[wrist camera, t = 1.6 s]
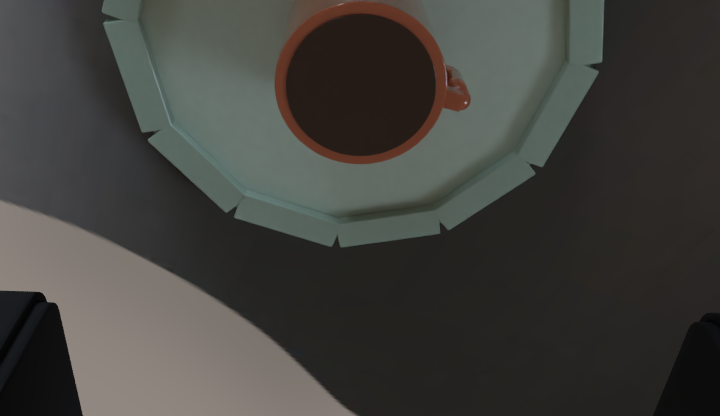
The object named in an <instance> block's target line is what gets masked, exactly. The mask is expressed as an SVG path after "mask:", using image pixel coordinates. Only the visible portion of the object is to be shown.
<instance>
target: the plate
mask: <svg viewBox="0 0 720 416" xmlns="http://www.w3.org/2000/svg"><path fill="white" fill-rule="evenodd" d="M294 1H295V0H104V2H103V8H102V13H104V14H107V15H110V16H112V18H109V19H106V20H105V22H104V23H103V26H104V28H105V31H106V34H107V37H108V40H109V42H110V45H111V48H112V51H113V54H114V56H115V59H116V62H117V65H118V68H119V70H120V73H121V76H122V79H123V81H124V84H125V87H126V90H127V93H128V95H129V98H130V101H131V104H132V107H133V109H134V112H135V115H136V118H137V121H138V123H139V126H140V129H141V132H142V133H144V132H151V131H153V133H152V134H151V135H150V137H149V138H148V142H149V143H150V144H151V145H152V146H154V147H155V148H156V149H157V150H158V151H159V152H160V153H161V154H162V155H163V156H164V157H166V158H167V159H168V160H169V161H170V162H171V163H172V164H173V165H174V166H175V167H176V168H177V169H179V170H180V171H181V172H182V173H183V174H184V175H185V176H186V177H187V178H188V179H189V180H191V181H192V182H193V183H194V184H195V185H196V186H197V187H198V188H199V189H200V190H201V191H203V192H204V193H205V194H206V195H207V196H208V197H209V198H210V199H211V200H212V201H213V202H215V203H216V204H217V205H218V206H219V207H220V208H221V209H222V210H223V211H224V212H226V213H227V212H229V211H230V210H231V209H233V208H234V207H235V206H236V210H235V214H234V218H237V219H240V220H243V221H246V222H250V223H253V224H256V225H260V226H263V227H266V228H270V229H273V230H276V231H280V232H283V233H286V234H290V235H293V236H296V237H300V238H303V239H306V240H310V241H313V242H316V243H319V244H323V245H326V246H329V247H332V246H333V243H334V241H335V239H336V237H338V241H339V246H340V247H348V246H356V245H363V244H370V243H377V242H384V241H391V240H398V239H406V238H413V237H420V236H427V235H434V234H440V224H439V223H440V222H441V223H442V224H443V225H444V226H445V228H446V229H447V230H450V229H452V228H453V227H455V226H456V225H458V224H459V223H461V222H463V221H464V220H466V219H467V218H469V217H470V216H472V215H473V214H475V213H476V212H478V211H480V210H481V209H483V208H484V207H486V206H487V205H489V204H490V203H492V202H493V201H495V200H497V199H498V198H500V197H501V196H503V195H504V194H506V193H507V192H509V191H510V190H512V189H514V188H515V187H517V186H518V185H520V184H521V183H523V182H524V181H526V180H527V179H529V178H531V177H532V176H534V175H535V171H534V169H533V167H532V166H531V165H530V164H534V165H537V166H539V167H543V165H544V164H545V162H546V160H547V159H548V157H549V155H550V154H551V152H552V150H553V149H554V147H555V145H556V144H557V142H558V140H559V139H560V137H561V135H562V134H563V132H564V130H565V128H566V127H567V125H568V123H569V122H570V120H571V118H572V117H573V115H574V113H575V112H576V110H577V108H578V107H579V105H580V103H581V102H582V100H583V98H584V97H585V95H586V93H587V92H588V90H589V88H590V86H591V85H592V83H593V81H594V80H595V78H596V76H597V75H598V73H599V71H598V70H597V69H596V68H595V67H594V66H591V64H595V63H601V62H602V54H603V24H604V0H422V2H423V4H424V6H425V9H426V11H427V13H428V16H429V19H430V22H431V24H432V27H433V30H434V33H435V35H436V38H437V41H438V44H439V46H440V49H441V52H442V55H443V57H444V61H445V65H448V66H452V67H454V68H455V69H458V70H459V71H460V72H461V74H462V77H463V79H464V81H465V84H466V86H467V89H468V91H469V94H470V96H471V103H470V105H469V107H468V108H466V109H465V110H461V111H459V112H457V111H453V110H449V109H446V108H443V109H442V111H441V114H440V116H439V118H438V120H437V122H436V123H435V125H434V126H433V128H432V129H431V130H430V132H429V133H428V134H427V135H426V136H425V137H424V138H423V139H422V140H421V141H420V142H419V143H418V144H417V145H415V146H414V147H413V148H411V149H410V150H408V151H407V152H405V153H403V154H401V155H399V156H397V157H395V158H392V159H389V160H386V161H383V162H378V163H372V164H348V163H342V162H338V161H334V160H331V159H328V158H326V157H324V156H321V155H319V154H317V153H316V152H314V151H312V150H311V149H309V148H308V147H307V146H305V145H304V144H303V143H302V142H300V141H299V140H298V138H297V137H296V136H295V135H294V134H293V133H292V132H291V130H290V129H289V128H288V126H287V125H286V123H285V121H284V120H283V118H282V115H281V113H280V111H279V108H278V104H277V101H276V96H275V72H276V66H277V61H278V57H279V52H280V48H281V44H282V39H283V35H284V30H285V26H286V22H287V18H288V15H289V11H290V9H291V7H292V5H293V2H294Z"/></svg>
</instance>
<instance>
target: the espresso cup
mask: <svg viewBox="0 0 720 416" xmlns="http://www.w3.org/2000/svg"><path fill="white" fill-rule="evenodd" d="M275 96H276V101H277V104H278V108H279V111H280V113H281V115H282V118H283V120H284V121H285V123H286V125H287V126H288V128H289V129H290V130H291V132H292V133H293V134H294V135H295V136H296V137H297V138H298V140H299V141H300V142H302V143H303V144H304V145H305V146H307V147H308V148H309V149H311V150H312V151H314V152H316V153H317V154H319V155H321V156H324V157H326V158H328V159H331V160H334V161H338V162H342V163H348V164H372V163H378V162H383V161H386V160H389V159H392V158H395V157H397V156H399V155H401V154H403V153H405V152H407V151H408V150H410V149H411V148H413V147H414V146H415V145H417V144H418V143H419V142H420V141H421V140H422V139H423V138H424V137H425V136H426V135H427V134H428V133H429V132H430V130H431V129H432V128H433V126H434V125H435V123H436V122H437V120H438V118H439V116H440V114H441V111H442V109H443V108H446V109H449V110H453V111H457V112H459V111H461V110H465V109H466V108H468V107H469V105H470V103H471V96H470V94H469V91H468V89H467V86H466V84H465V81H464V79H463V77H462V74H461V72H460V71H459V70H458V69H455V68H454V67H452V66H448V65H445V61H444V57H443V55H442V52H441V49H440V46H439V44H438V41H437V38H436V35H435V33H434V30H433V27H432V24H431V22H430V19H429V16H428V13H427V11H426V9H425V6H424V4H423V2H422V0H295V1H294V2H293V5H292V7H291V9H290V11H289V15H288V18H287V22H286V26H285V30H284V35H283V39H282V44H281V48H280V52H279V57H278V61H277V66H276V72H275Z"/></svg>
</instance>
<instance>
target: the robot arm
mask: <svg viewBox="0 0 720 416" xmlns="http://www.w3.org/2000/svg"><path fill="white" fill-rule="evenodd" d="M0 416H83V415H82V411H81V406H80V401H79V397H78V392H77V388H76V384H75V379H74V375H73V370H72V366H71V361H70V357H69V352H68V348H67V343H66V339H65V335H64V330H63V326H62V321H61V317H60V312H59V309H58V306H57V305H56V303H50V302H47V301H46V298H45V296H44V295H43V294H42V293H40V292H24V291H0ZM653 416H720V313H706V314H705V315H704V316H703V317H702V318H701V320H700V321H699V322H694V323H693V324H692V325H691V326H690V328H689V330H688V332H687V334H686V337H685V339H684V342H683V344H682V347H681V349H680V351H679V354H678V356H677V359H676V361H675V364H674V366H673V368H672V371H671V373H670V376H669V378H668V381H667V383H666V385H665V388H664V390H663V393H662V395H661V398H660V400H659V402H658V405H657V407H656V410H655V412H654V415H653Z"/></svg>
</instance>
